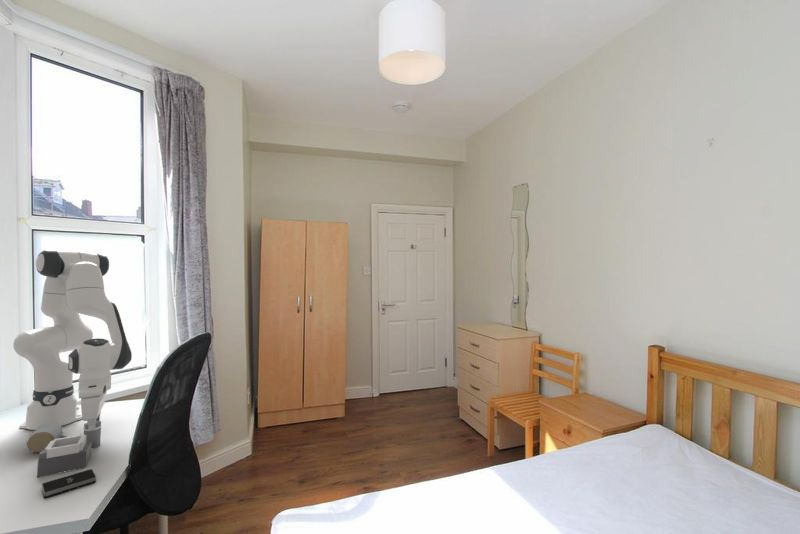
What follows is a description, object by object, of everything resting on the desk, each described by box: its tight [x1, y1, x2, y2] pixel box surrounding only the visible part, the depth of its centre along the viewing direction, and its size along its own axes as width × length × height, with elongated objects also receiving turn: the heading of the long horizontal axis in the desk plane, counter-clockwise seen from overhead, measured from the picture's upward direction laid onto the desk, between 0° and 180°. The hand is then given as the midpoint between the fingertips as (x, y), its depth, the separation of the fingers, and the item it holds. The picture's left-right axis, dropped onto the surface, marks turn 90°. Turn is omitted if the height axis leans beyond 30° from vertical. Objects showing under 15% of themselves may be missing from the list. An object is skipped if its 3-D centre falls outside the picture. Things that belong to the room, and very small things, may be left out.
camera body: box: [36, 433, 92, 478], centre depth 115 cm, size 9×11×8 cm
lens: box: [83, 420, 102, 450], centre depth 129 cm, size 5×5×8 cm
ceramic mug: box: [26, 423, 68, 454], centre depth 127 cm, size 11×8×8 cm
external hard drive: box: [41, 468, 97, 499], centre depth 104 cm, size 7×11×2 cm, turn 138°
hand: (94, 425), depth 129 cm, fingers open, 8 cm apart
